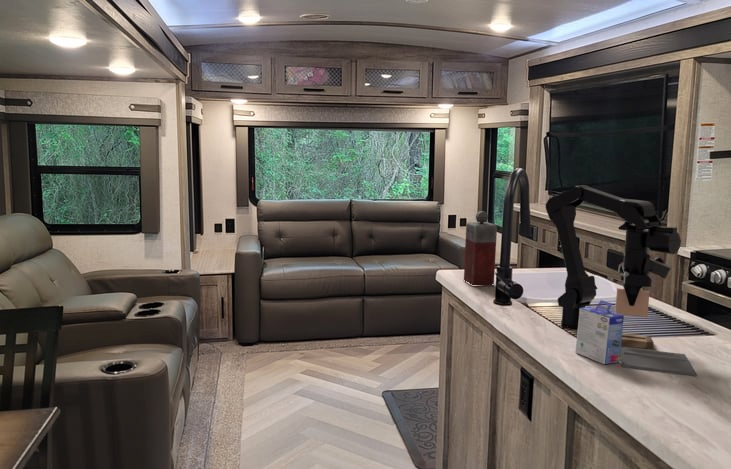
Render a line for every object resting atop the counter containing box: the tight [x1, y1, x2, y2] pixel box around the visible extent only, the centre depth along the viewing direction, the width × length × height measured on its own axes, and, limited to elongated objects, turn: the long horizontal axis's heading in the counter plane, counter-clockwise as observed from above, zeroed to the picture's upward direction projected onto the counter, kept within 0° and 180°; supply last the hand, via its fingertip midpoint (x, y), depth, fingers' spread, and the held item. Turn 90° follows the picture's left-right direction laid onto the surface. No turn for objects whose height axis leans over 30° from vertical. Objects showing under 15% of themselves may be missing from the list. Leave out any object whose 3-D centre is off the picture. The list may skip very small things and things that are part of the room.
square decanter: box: [463, 210, 498, 285], centre depth 229 cm, size 9×11×28 cm
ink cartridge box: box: [575, 299, 625, 365], centre depth 150 cm, size 10×6×14 cm, turn 28°
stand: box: [621, 332, 654, 350], centre depth 163 cm, size 12×6×2 cm, turn 72°
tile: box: [614, 287, 651, 318], centre depth 161 cm, size 8×1×7 cm, turn 72°
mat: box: [620, 346, 698, 377], centre depth 149 cm, size 16×14×1 cm
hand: (631, 305), depth 161 cm, fingers closed on tile, 1 cm apart
